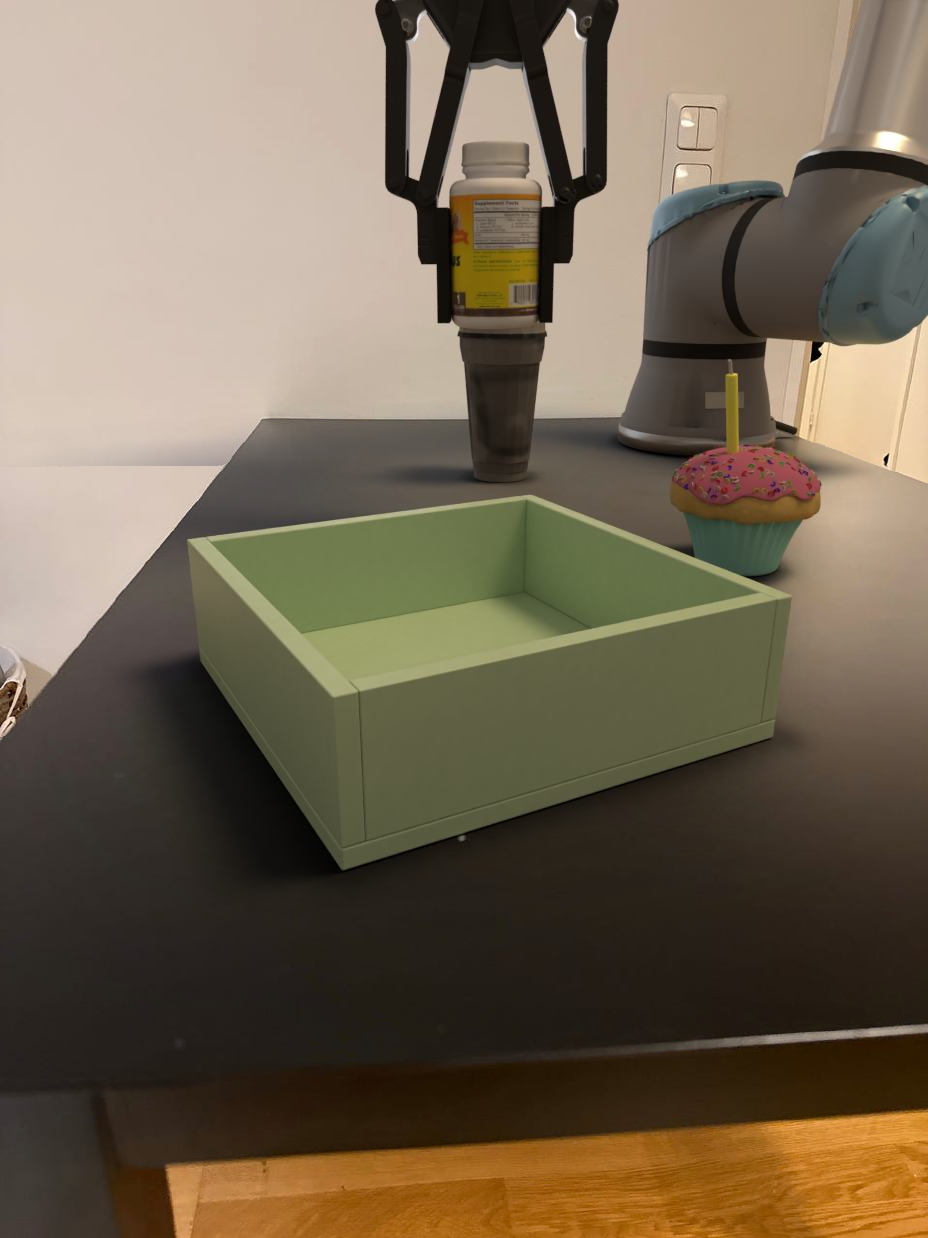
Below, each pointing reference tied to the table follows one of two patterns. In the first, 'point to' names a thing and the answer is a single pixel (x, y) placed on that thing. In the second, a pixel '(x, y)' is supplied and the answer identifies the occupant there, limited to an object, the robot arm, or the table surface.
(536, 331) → the beverage cup
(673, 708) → the tote
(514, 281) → the supplement bottle
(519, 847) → the table surface
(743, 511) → the cupcake
